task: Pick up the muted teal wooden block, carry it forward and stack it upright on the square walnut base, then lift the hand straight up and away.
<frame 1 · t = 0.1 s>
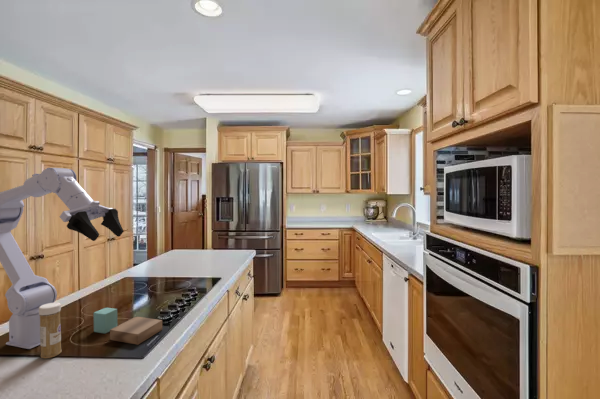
hand: (109, 235, 83), 32 cm above the table, tool tilted 50°, fingers open, 7 cm apart
walnut base: (137, 334, 97), on the table
sprinkles bottle: (51, 355, 85), on the table
teal block: (105, 329, 100), on the table
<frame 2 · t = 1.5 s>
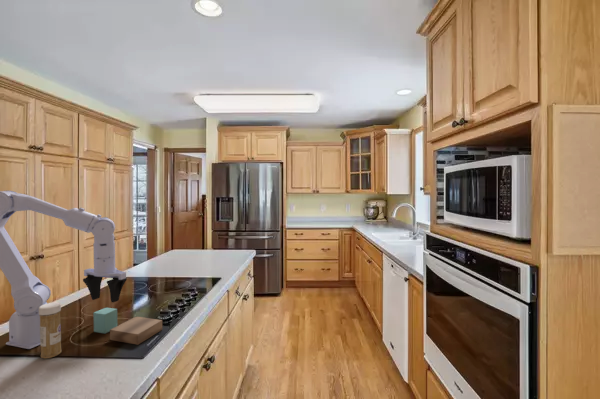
hand: (105, 300, 100), 9 cm above the table, tool pointing down, fingers open, 7 cm apart
nothing on the table moved.
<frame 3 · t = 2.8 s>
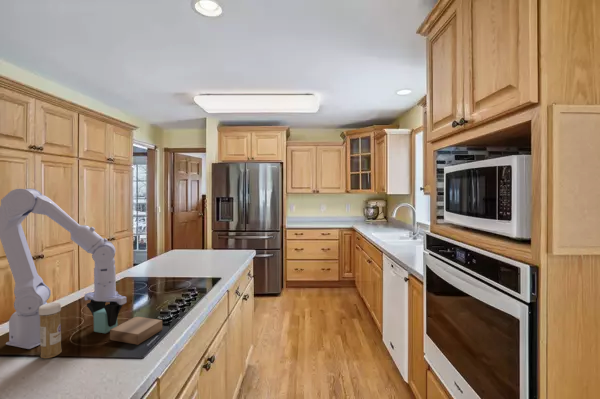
hand: (105, 324, 100), 2 cm above the table, tool pointing down, fingers closed on teal block, 4 cm apart
teal block: (105, 329, 100), on the table, touching gripper
everything else where it was.
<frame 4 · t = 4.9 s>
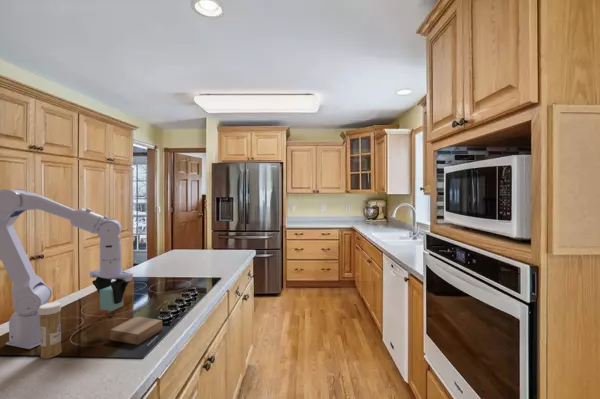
hand: (111, 301, 99), 9 cm above the table, tool pointing down, fingers closed on teal block, 4 cm apart
teal block: (111, 307, 99), point 7 cm above the table, touching gripper
everything else where it was.
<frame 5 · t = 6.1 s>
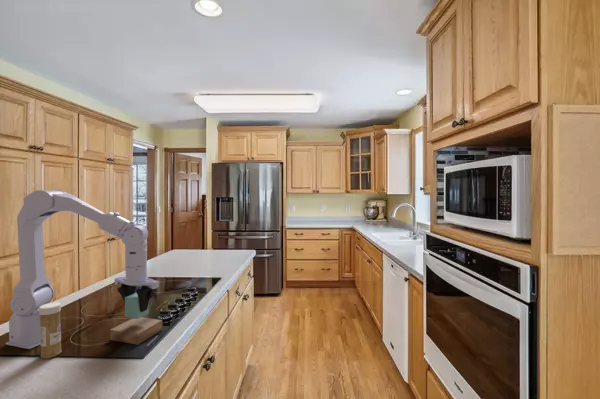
hand: (136, 309, 96), 8 cm above the table, tool pointing down, fingers closed on teal block, 4 cm apart
teal block: (137, 315, 96), point 6 cm above the table, touching gripper
everything else where it was.
when the fingers open (6 cm above the table, at t = 7.0 s): teal block stays where it is, resting on walnut base.
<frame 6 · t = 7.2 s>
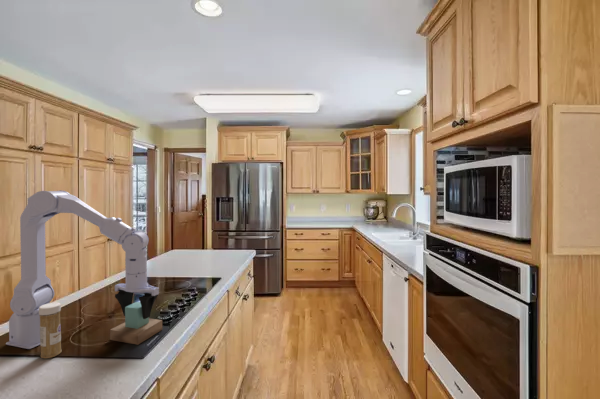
hand: (136, 316, 96), 6 cm above the table, tool pointing down, fingers open, 6 cm apart
teal block: (137, 324, 97), point 3 cm above the table, touching walnut base
everything else where it was.
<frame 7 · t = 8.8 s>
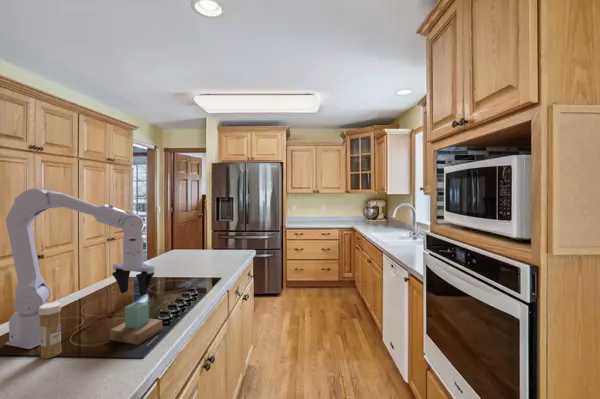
hand: (133, 293, 103), 10 cm above the table, tool pointing down, fingers open, 7 cm apart
nothing on the table moved.
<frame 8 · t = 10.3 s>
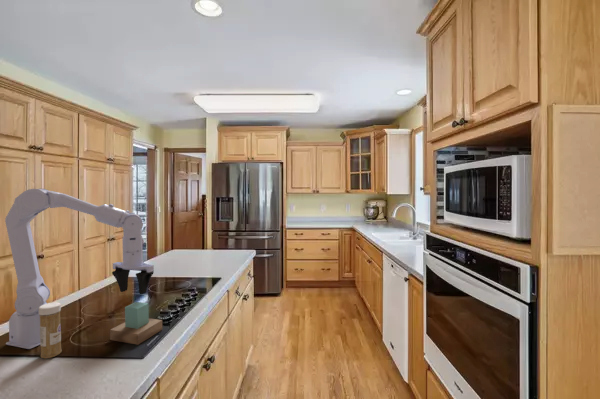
hand: (133, 292, 104), 10 cm above the table, tool pointing down, fingers open, 7 cm apart
nothing on the table moved.
at the end: teal block 0.1 cm off-centre on the walnut base, point 3.0 cm above the walnut base's base; teal block tilted 0°; the gripper is holding nothing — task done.
